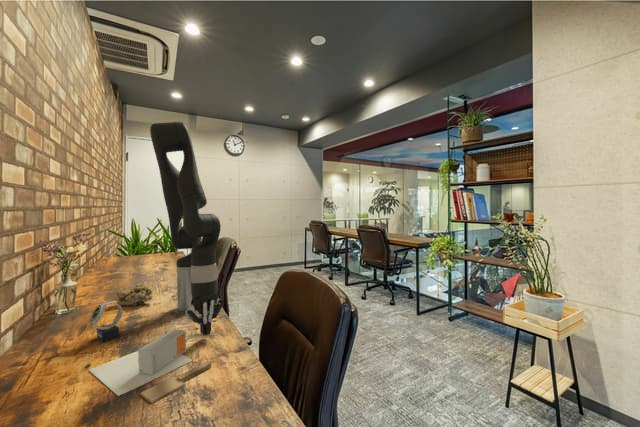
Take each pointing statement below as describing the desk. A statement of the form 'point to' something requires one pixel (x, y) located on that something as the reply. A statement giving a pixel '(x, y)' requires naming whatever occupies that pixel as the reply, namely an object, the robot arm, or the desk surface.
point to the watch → (106, 331)
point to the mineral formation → (134, 295)
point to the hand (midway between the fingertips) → (205, 334)
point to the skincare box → (161, 351)
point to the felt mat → (130, 372)
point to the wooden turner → (172, 384)
